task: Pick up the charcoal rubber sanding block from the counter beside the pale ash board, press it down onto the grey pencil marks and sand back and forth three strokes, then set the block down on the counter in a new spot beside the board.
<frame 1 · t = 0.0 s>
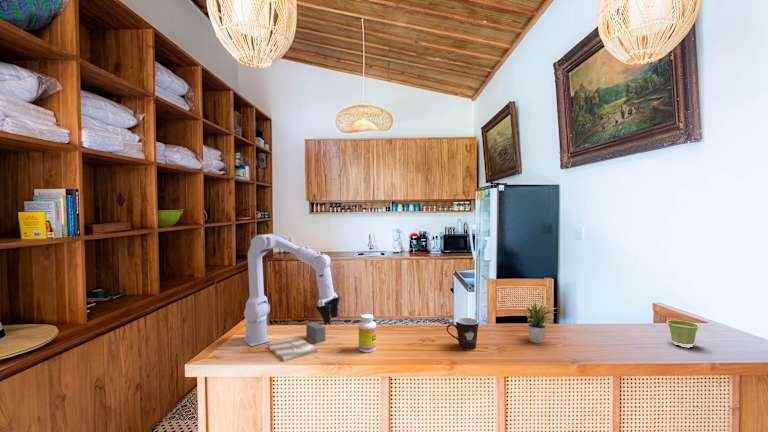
hand: (331, 320, 132), 11 cm above the countertop, tool pointing down, fingers open, 7 cm apart
house plant: (536, 342, 136), on the countertop
sanding block: (315, 339, 140), on the countertop
coffee mug: (463, 346, 132), on the countertop
supplement bottle: (367, 349, 129), on the countertop
plant pot: (682, 346, 131), on the countertop
ash board: (292, 349, 130), on the countertop
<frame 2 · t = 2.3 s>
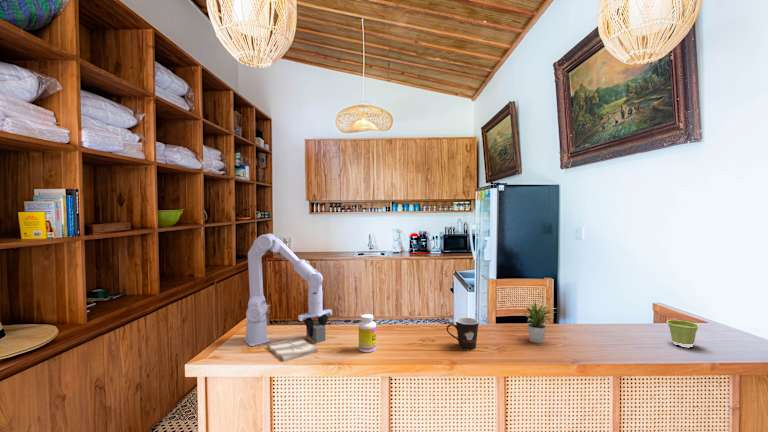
hand: (315, 334, 140), 2 cm above the countertop, tool pointing down, fingers closed on sanding block, 4 cm apart
sanding block: (315, 339, 140), on the countertop, touching gripper
everything else where it was.
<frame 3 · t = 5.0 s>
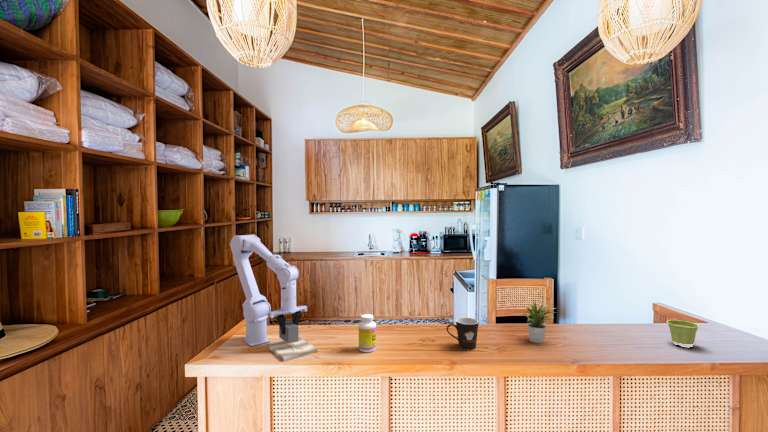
hand: (288, 332, 132), 6 cm above the countertop, tool pointing down, fingers closed on sanding block, 4 cm apart
sanding block: (288, 339, 132), point 3 cm above the countertop, touching gripper
everything else where it was.
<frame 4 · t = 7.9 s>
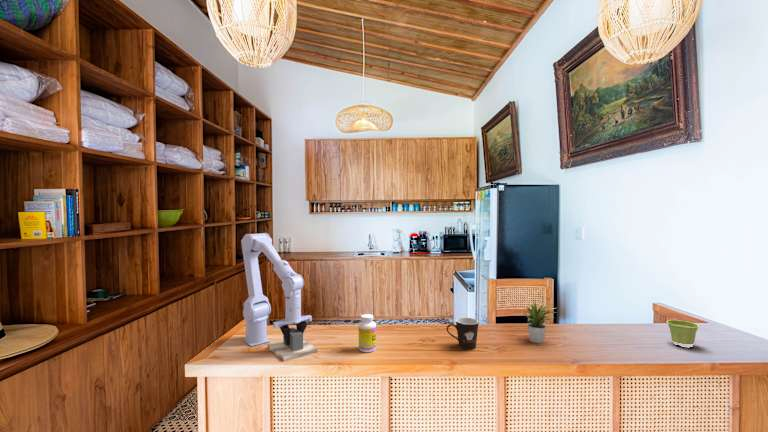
hand: (293, 343, 129), 3 cm above the countertop, tool pointing down, fingers closed on sanding block, 4 cm apart
sanding block: (293, 347, 129), point 1 cm above the countertop, touching gripper
everything else where it was.
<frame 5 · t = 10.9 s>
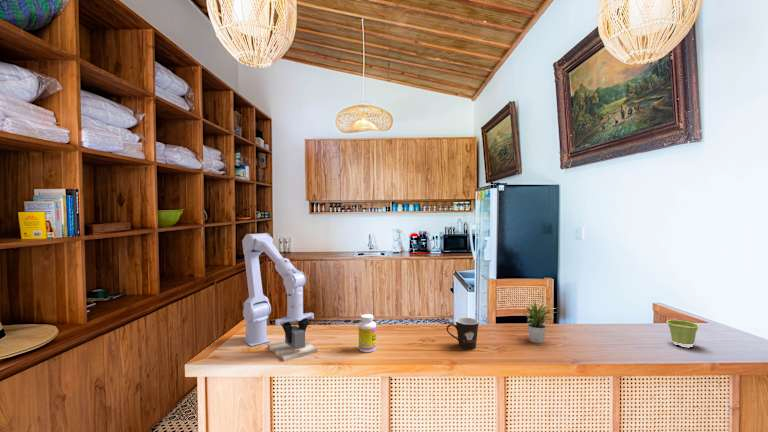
hand: (295, 340, 127), 4 cm above the countertop, tool pointing down, fingers closed on sanding block, 4 cm apart
sanding block: (294, 345, 127), point 2 cm above the countertop, touching gripper
everything else where it was.
when the fingers open (3 cm above the countertop, at t = 13.6 s): sanding block drops 1 cm, on the countertop.
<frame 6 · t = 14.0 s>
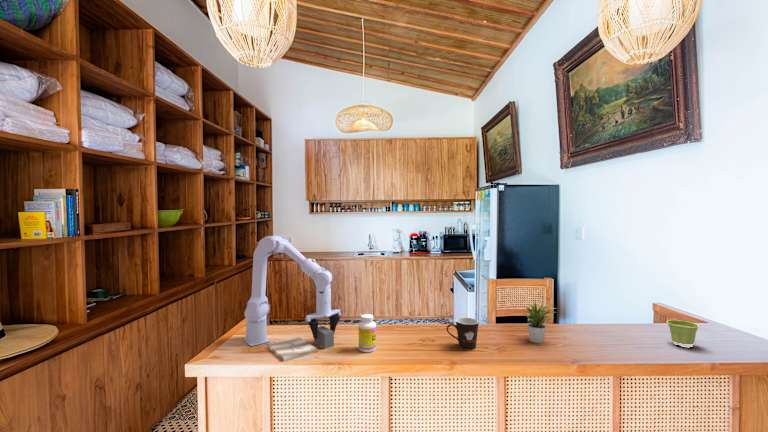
hand: (323, 335, 135), 3 cm above the countertop, tool pointing down, fingers open, 7 cm apart
sanding block: (323, 344, 135), on the countertop
everything else where it was.
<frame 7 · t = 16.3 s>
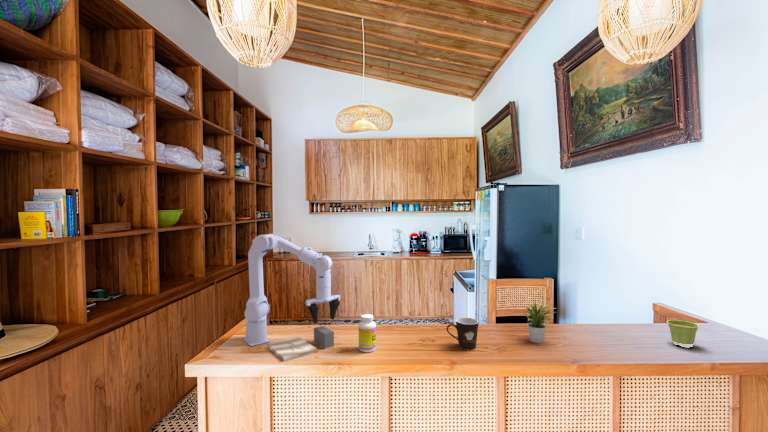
hand: (323, 320, 135), 9 cm above the countertop, tool pointing down, fingers open, 7 cm apart
nothing on the countertop moved.
at the end: sanding block inside the target area (0.1 cm from its centre), on the countertop; the gripper is holding nothing; sanding block tilted 0° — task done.
